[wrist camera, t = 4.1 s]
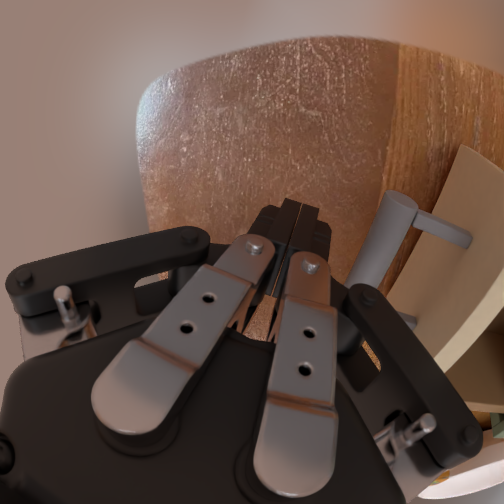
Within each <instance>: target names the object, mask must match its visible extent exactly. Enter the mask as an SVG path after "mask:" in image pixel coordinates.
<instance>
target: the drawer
mask: <svg viewBox="0 0 504 504" xmlns="http://www.w3.org/2000/svg"><path fill="white" fill-rule="evenodd" d="M410 225H412V226H413V227H415V228H418V229H420V230H423V232H422V234H421V236H420V238H419V240H418V242H417V244H416V246H415V248H414V249H413V251H412V253H411V255H410V257H409V259H408V261H407V262H406V264H405V266H404V268H403V270H402V271H401V273H400V275H399V277H398V278H397V280H396V282H395V283H394V285H393V287H392V288H391V290H390V292H389V293H388V295H387V297H386V299H387V300H388V302H389V303H390V304H391V305H392V306H393V308H394V309H395V310H396V311H397V312H398V314H399V315H400V316H401V317H402V319H403V320H404V321H405V322H406V324H407V325H408V326H409V327H410V329H411V330H412V331H413V333H414V334H415V335H416V336H417V338H418V339H419V340H420V342H421V343H422V344H423V345H424V347H425V348H426V349H427V351H428V352H429V353H430V355H431V356H432V357H433V359H434V360H435V361H436V363H437V364H438V365H439V367H440V368H441V369H442V371H443V372H444V374H445V375H446V376H447V378H448V379H449V381H450V382H451V383H452V385H453V386H454V388H455V389H456V390H457V392H458V393H459V395H460V396H461V398H462V399H463V400H464V402H465V403H466V405H467V406H468V408H469V409H470V410H472V411H482V412H492V413H504V171H503V170H502V169H500V168H499V167H498V166H496V165H495V164H494V163H492V162H491V161H489V160H488V159H486V158H485V157H484V156H482V155H481V154H479V153H478V152H476V151H474V150H473V149H471V148H469V147H467V146H465V145H463V144H460V147H459V150H458V152H457V155H456V158H455V160H454V163H453V165H452V168H451V170H450V173H449V175H448V178H447V180H446V182H445V185H444V187H443V189H442V192H441V194H440V196H439V198H438V201H437V203H436V205H435V207H434V209H433V211H432V214H430V213H427V212H425V211H423V210H420V209H418V205H417V203H416V202H415V201H414V200H412V199H411V198H410V197H408V196H406V195H404V194H402V193H400V192H397V191H394V190H386V191H385V193H384V196H383V198H382V201H381V203H380V206H379V208H378V211H377V213H376V215H375V218H374V220H373V222H372V225H371V227H370V229H369V232H368V234H367V236H366V238H365V241H364V243H363V245H362V247H361V249H360V252H359V254H358V256H357V258H356V260H355V262H354V265H353V267H352V269H351V271H350V273H349V275H348V277H347V279H346V281H345V283H344V285H343V286H345V287H347V288H349V289H350V287H351V286H352V285H354V284H356V283H364V284H368V285H370V286H372V287H374V288H376V289H377V288H378V286H379V285H380V283H381V281H382V279H383V277H384V276H385V274H386V272H387V270H388V268H389V266H390V265H391V263H392V261H393V259H394V257H395V255H396V253H397V251H398V249H399V247H400V245H401V243H402V241H403V239H404V237H405V235H406V233H407V231H408V229H409V227H410Z"/></svg>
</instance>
